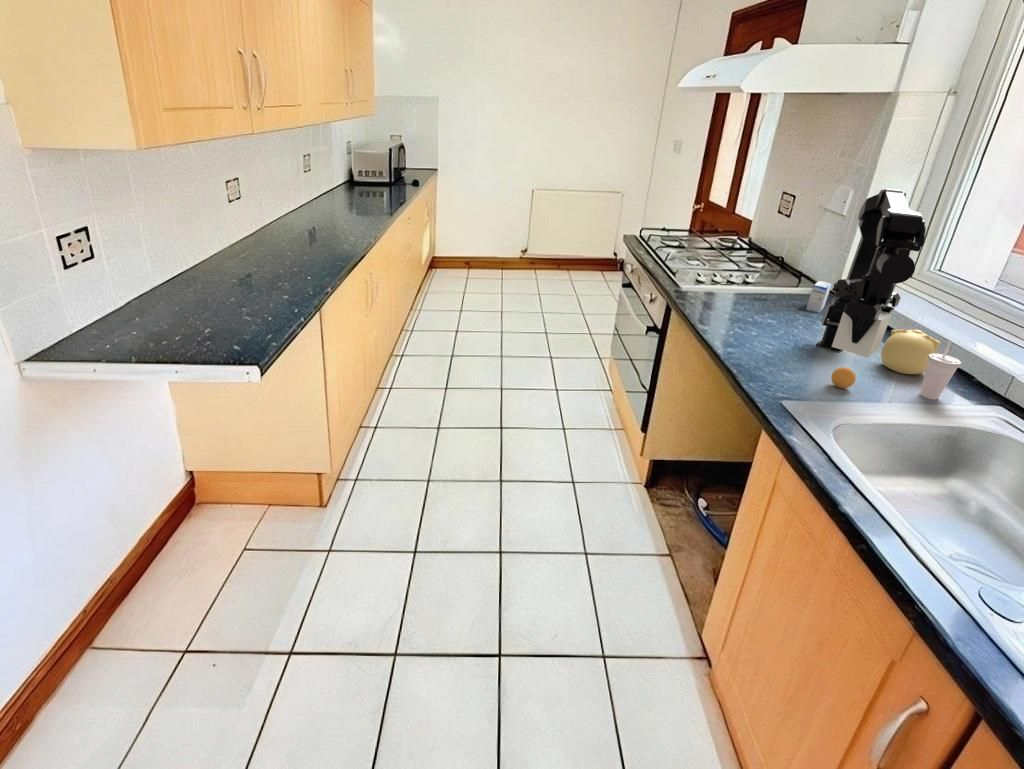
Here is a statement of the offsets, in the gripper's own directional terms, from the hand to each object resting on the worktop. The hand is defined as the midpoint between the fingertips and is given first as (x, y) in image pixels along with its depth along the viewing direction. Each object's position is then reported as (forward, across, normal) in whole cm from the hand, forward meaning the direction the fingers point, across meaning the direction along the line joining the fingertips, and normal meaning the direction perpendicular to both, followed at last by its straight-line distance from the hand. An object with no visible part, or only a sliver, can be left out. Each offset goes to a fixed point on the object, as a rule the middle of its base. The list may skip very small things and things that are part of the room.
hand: (860, 339), depth 131 cm
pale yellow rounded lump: (+13, -26, +6) cm, 30 cm away
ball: (+10, 0, 0) cm, 10 cm away
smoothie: (+13, -13, +15) cm, 24 cm away
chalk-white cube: (+2, 0, 0) cm, 2 cm away
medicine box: (+13, -61, -29) cm, 69 cm away
